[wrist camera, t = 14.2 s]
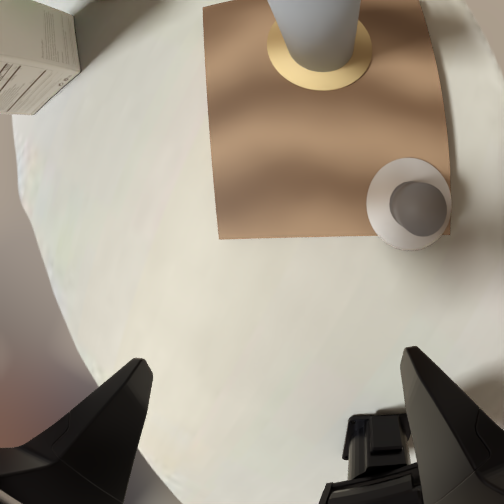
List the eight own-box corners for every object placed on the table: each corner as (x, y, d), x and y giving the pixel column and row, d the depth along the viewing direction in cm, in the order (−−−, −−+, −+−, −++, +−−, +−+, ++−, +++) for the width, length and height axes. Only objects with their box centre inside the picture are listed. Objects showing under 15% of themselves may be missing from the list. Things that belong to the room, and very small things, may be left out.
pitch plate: (442, 244, 19) (465, 261, 15) (227, 248, 23) (204, 265, 19) (412, 1, 15) (424, -28, 11) (209, 15, 19) (186, -10, 15)
